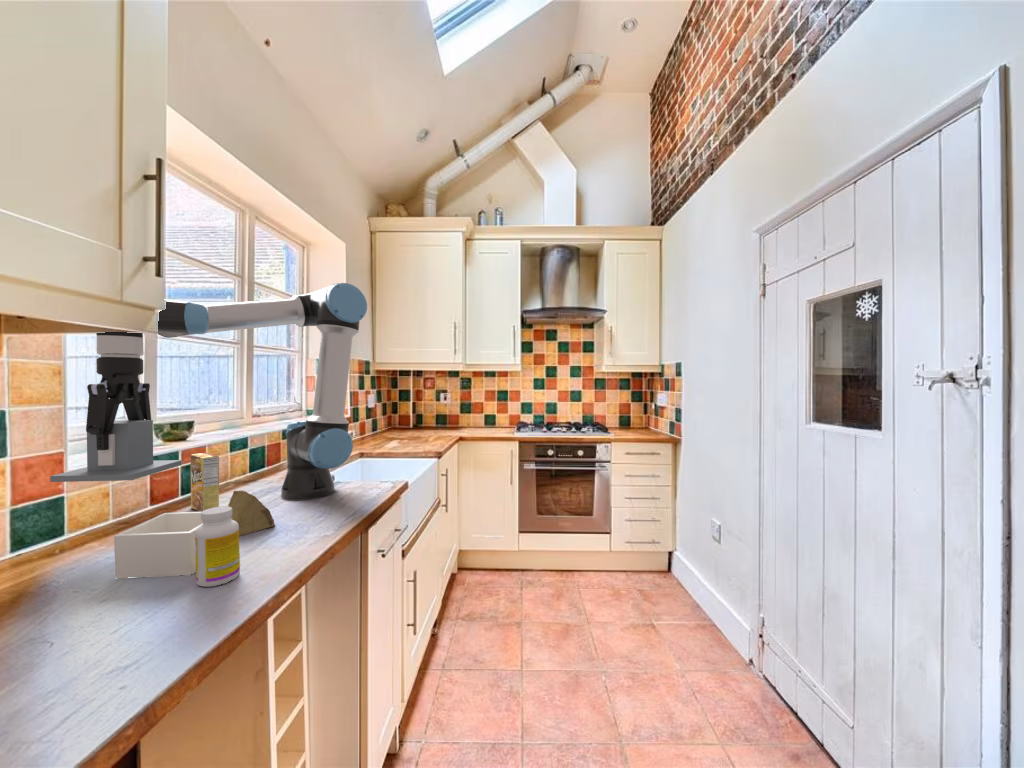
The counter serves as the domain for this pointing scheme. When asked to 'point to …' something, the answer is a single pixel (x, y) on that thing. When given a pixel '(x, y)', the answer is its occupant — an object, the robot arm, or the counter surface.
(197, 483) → the candy box
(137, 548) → the storage box
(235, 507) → the rock
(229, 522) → the supplement bottle
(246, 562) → the counter surface
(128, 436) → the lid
